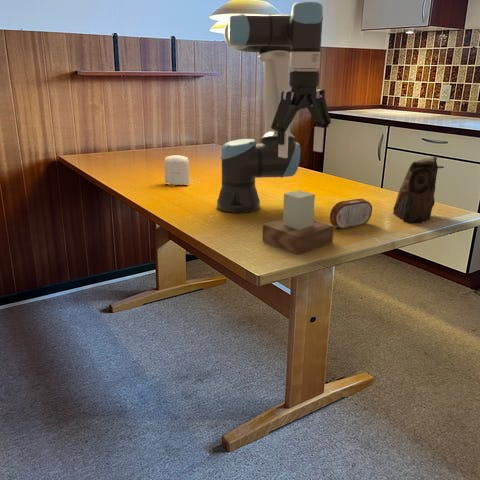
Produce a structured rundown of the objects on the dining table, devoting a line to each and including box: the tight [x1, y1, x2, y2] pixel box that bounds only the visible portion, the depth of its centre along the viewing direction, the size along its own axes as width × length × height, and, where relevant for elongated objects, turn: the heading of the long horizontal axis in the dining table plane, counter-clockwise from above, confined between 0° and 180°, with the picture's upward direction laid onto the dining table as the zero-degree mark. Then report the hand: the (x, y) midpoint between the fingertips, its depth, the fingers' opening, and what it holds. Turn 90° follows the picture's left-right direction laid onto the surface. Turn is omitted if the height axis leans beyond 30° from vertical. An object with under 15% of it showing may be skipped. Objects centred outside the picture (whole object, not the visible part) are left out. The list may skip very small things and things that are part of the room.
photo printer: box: [163, 154, 190, 185], centre depth 201 cm, size 10×4×12 cm, turn 84°
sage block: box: [282, 189, 316, 230], centre depth 135 cm, size 6×6×9 cm
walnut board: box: [262, 218, 335, 255], centre depth 138 cm, size 14×14×5 cm
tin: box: [329, 198, 373, 230], centre depth 151 cm, size 15×3×8 cm, turn 118°
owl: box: [392, 156, 439, 225], centre depth 156 cm, size 13×13×20 cm
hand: (300, 154), depth 130 cm, fingers open, 13 cm apart
